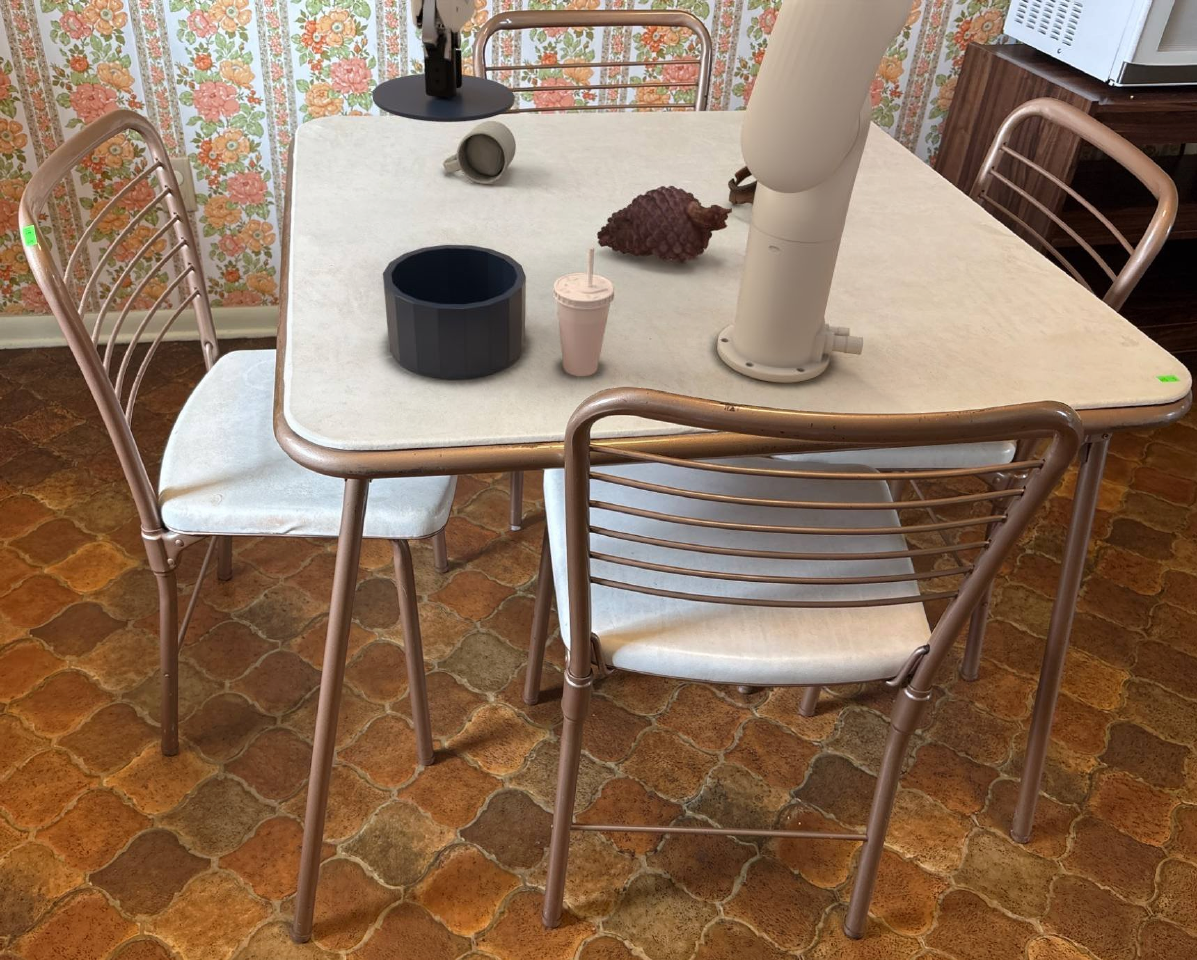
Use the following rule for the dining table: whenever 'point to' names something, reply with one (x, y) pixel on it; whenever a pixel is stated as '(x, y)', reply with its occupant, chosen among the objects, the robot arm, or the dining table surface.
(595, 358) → the smoothie
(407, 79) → the pot lid
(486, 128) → the ceramic mug
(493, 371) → the pot
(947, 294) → the dining table surface
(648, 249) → the pine cone
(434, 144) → the dining table surface
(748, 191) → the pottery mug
